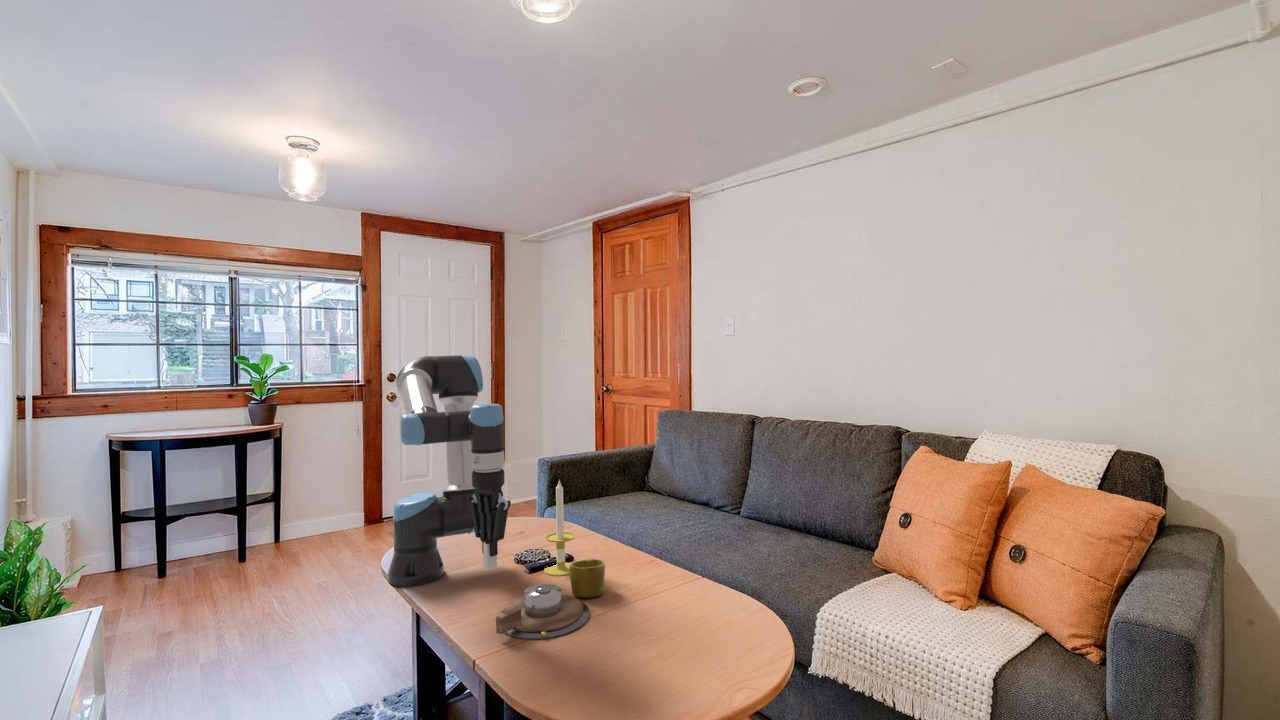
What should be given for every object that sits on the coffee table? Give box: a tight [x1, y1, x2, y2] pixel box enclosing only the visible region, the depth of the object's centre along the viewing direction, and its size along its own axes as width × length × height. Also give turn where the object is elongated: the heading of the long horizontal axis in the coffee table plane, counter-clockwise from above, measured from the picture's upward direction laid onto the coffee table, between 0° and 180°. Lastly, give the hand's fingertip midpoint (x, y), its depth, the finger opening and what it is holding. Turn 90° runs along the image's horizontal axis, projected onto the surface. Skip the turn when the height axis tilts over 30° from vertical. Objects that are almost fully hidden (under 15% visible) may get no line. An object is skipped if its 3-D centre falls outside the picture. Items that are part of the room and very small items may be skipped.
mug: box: [569, 557, 606, 599], centre depth 153 cm, size 12×10×10 cm
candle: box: [543, 479, 576, 577], centre depth 169 cm, size 10×10×27 cm
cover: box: [523, 583, 563, 618], centre depth 139 cm, size 9×9×5 cm
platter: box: [495, 594, 583, 635], centre depth 137 cm, size 19×24×5 cm
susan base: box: [499, 599, 590, 641], centre depth 138 cm, size 22×22×1 cm
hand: (490, 568), depth 135 cm, fingers closed
